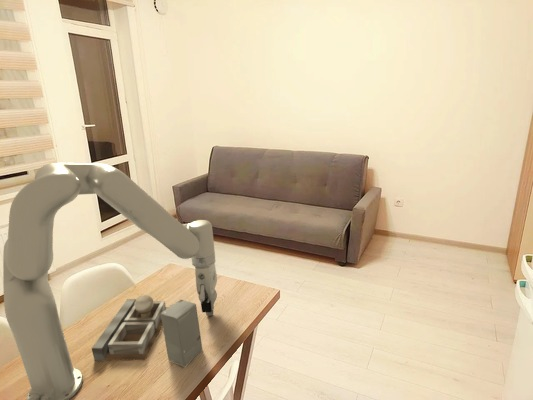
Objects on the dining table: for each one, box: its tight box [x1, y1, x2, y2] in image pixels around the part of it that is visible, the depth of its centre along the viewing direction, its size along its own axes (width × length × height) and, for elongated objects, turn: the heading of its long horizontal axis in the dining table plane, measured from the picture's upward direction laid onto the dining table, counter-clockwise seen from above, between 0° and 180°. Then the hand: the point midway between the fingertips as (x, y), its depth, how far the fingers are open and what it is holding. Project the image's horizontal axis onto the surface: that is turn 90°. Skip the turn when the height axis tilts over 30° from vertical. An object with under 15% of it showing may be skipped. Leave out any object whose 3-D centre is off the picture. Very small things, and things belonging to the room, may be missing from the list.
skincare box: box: [160, 299, 203, 368], centre depth 97 cm, size 8×7×16 cm
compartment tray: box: [91, 294, 169, 362], centre depth 108 cm, size 24×15×10 cm, turn 178°
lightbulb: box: [197, 288, 218, 317], centre depth 114 cm, size 6×6×11 cm
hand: (208, 305), depth 115 cm, fingers closed on lightbulb, 5 cm apart
